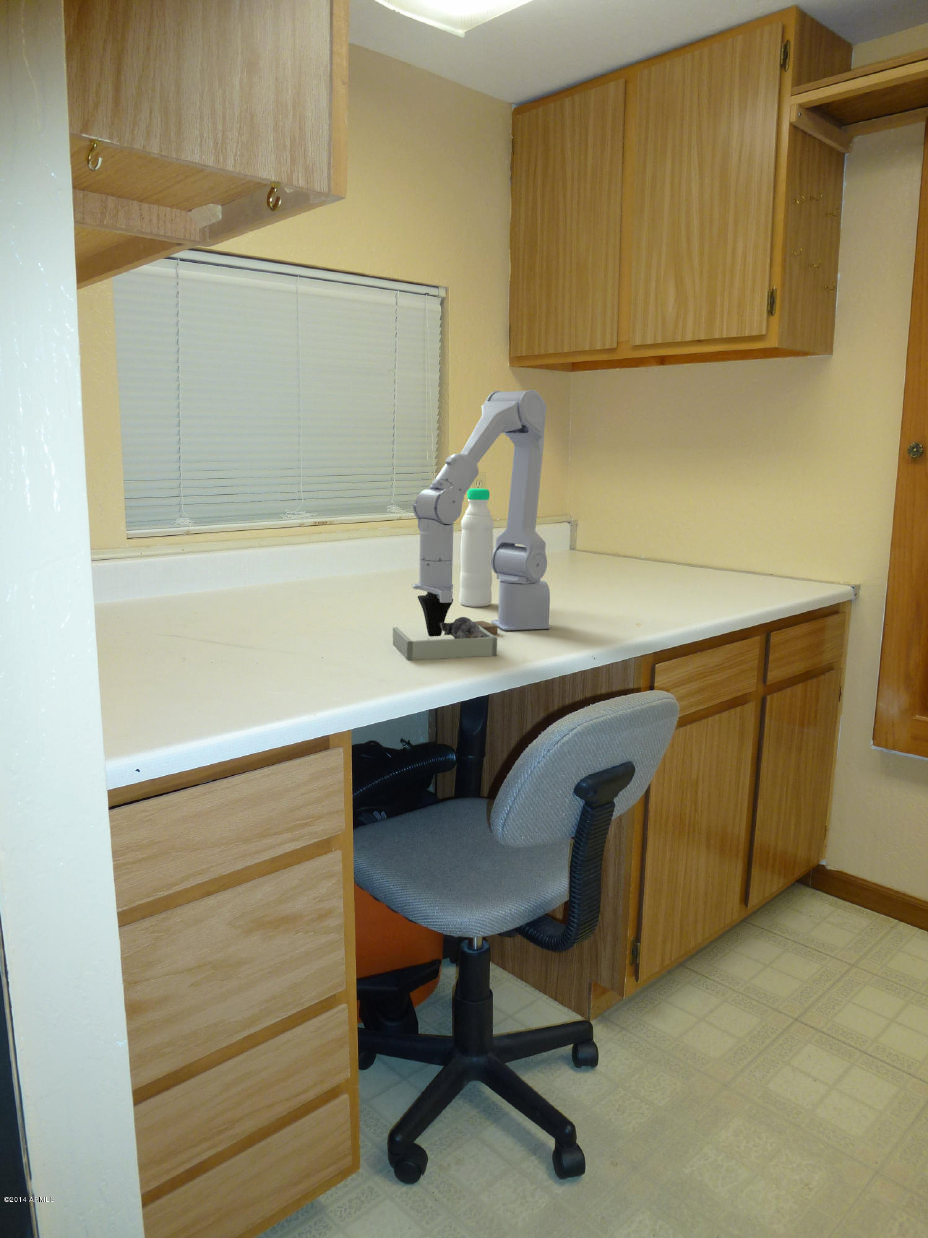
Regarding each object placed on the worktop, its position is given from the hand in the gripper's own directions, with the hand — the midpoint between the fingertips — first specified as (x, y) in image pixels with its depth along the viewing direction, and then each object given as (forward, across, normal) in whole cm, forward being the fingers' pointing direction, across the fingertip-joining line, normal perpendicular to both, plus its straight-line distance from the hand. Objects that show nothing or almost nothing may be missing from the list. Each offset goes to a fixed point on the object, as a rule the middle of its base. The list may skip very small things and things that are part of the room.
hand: (434, 635), depth 152 cm
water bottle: (+1, -33, +18) cm, 38 cm away
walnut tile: (+2, -6, +10) cm, 12 cm away
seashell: (-3, +1, +2) cm, 4 cm away
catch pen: (+1, +6, 0) cm, 6 cm away
